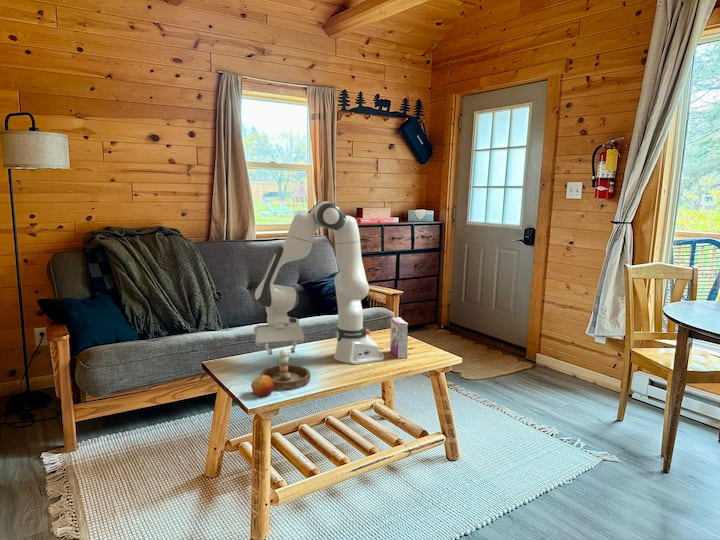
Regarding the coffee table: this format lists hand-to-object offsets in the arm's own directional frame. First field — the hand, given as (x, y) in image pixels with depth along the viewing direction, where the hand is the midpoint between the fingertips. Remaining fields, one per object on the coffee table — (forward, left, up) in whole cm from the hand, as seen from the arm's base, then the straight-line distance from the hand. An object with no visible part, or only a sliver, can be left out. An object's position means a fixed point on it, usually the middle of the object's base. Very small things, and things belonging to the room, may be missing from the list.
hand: (281, 353), depth 205 cm
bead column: (0, +6, -7) cm, 9 cm away
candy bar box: (-55, -8, -8) cm, 56 cm away
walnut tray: (0, +11, -8) cm, 13 cm away
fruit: (+10, +22, -8) cm, 26 cm away
